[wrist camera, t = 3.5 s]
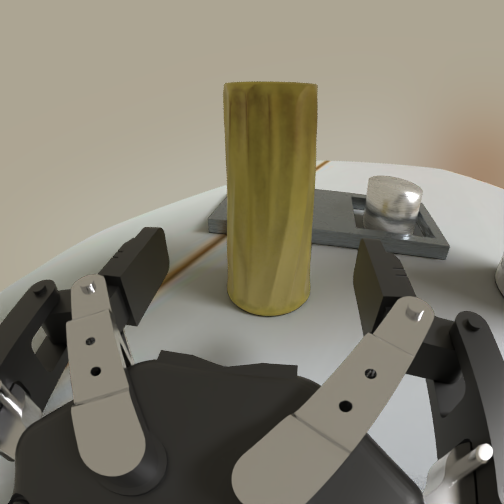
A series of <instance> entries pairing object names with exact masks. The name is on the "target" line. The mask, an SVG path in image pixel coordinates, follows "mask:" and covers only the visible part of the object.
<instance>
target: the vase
mask: <svg viewBox="0 0 504 504" xmlns="http://www.w3.org/2000/svg"><path fill="white" fill-rule="evenodd" d="M317 88H318V87H317V85H316V84H309V83H296V82H232V83H225V84H224V92H223V103H224V127H225V150H226V168H227V169H226V171H227V261H228V282H227V292H228V295H229V297H230V299H231V300H232V301H233V302H234V303H235V304H236V305H237V306H238V307H240V308H241V309H243V310H245V311H247V312H249V313H253V314H257V315H263V316H276V315H282V314H286V313H289V312H292V311H294V310H296V309H297V308H299V307H300V306H301V305H302V304H303V303H304V302H305V301H306V300H307V299H308V297H309V294H310V259H311V240H312V222H313V209H314V191H315V173H316V134H317Z"/></svg>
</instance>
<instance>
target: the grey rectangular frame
mask: <svg viewBox="0 0 504 504" xmlns="http://www.w3.org/2000/svg"><path fill="white" fill-rule="evenodd" d="M422 193H423V191H422V189H421V188H420V187H419V186H417V185H416V184H414V183H412V182H409V181H406V180H403V179H400V178H396V177H390V176H373V177H370V178H369V182H368V189H367V195H362V194H355V193H346V192H338V191H329V190H319V189H315V191H314V209H313V222H312V240H311V243H315V244H324V245H332V246H341V247H349V248H358V249H359V244H360V240H361V239H362V238H367V239H380V241H381V243H382V245H383V247H384V249H385V251H386V252H391V253H399V254H407V255H415V256H422V257H430V258H438V259H445V260H446V257H447V254H448V251H449V248H450V246H449V244H448V242H447V241H446V239H445V237H444V236H443V234H442V233H441V231H440V229H439V228H438V226H437V225H436V223H435V222H434V220H433V218H432V217H431V215H430V214H429V212H428V211H427V209H426V208H425V206H424V205H423V204H422V203H421V198H422ZM353 208H354V209H363V210H364V216H363V222H362V223H363V226H364V228H365V229H361V228H356V224H355V217H354V211H353ZM416 222H417V223H418V225H419V227H420V229H421V231H422V233H423V235H424V237H421V236H414V235H413V233H414V229H415V225H416ZM208 225H209V232H212V233H222V234H227V197H226V198H225V199H224V201H223V202H222V203H221V204H220V205H219V206H218V207H217V209H216V210H215V211H214V212H213V213H212V214H211V216H210V217H209V218H208Z"/></svg>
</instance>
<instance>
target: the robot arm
mask: <svg viewBox="0 0 504 504" xmlns="http://www.w3.org/2000/svg"><path fill="white" fill-rule="evenodd" d="M168 270H169V256H168V251H167V245H166V240H165V234H164V231H163V229H162V228H156V227H145V228H143V229H142V230H141V231H140V233H139V234H138V235H137V236H136V237H135V238H133V239H131V240H129V241H128V242H126V243H125V244H123V246H122V247H121V248H120V249H119V250H118V252H116V253H115V255H114V256H113V258H111V259H110V260H109V262H108V263H107V264H106V265H105V266H104V267H103V269H102V270H101V271H100V272H99V273H98V274H92V275H87V276H84V277H82V278H80V279H79V280H77V281H76V282H75V283H74V284H73V286H72V288H71V289H70V290H61V291H58V290H57V287H56V285H55V283H54V282H53V281H52V280H42V281H40V282H37V283H36V284H34V285H33V286H31V287H30V288H29V290H28V291H27V292H26V293H25V294H24V296H23V297H22V298H21V299H20V300H19V302H18V303H17V304H16V305H15V307H14V308H13V309H12V310H11V312H10V313H9V314H8V315H7V317H6V318H5V319H4V321H3V322H2V323H1V325H0V455H1V456H3V457H4V458H5V459H7V460H9V461H15V484H14V491H13V495H12V498H11V500H10V501H9V503H8V504H504V360H503V358H502V355H501V353H500V351H499V348H498V346H497V343H496V341H495V339H494V337H493V334H492V332H491V330H490V328H489V326H488V324H487V322H486V321H485V320H484V319H483V318H482V317H481V316H480V315H478V314H476V313H474V312H470V311H463V312H460V313H459V314H458V315H457V317H456V319H455V321H450V320H446V319H442V318H439V317H436V316H434V311H433V309H432V308H431V306H430V305H429V304H428V303H427V302H425V301H424V300H422V299H419V298H417V297H416V295H415V293H414V290H413V288H412V286H411V284H410V281H409V279H408V277H406V273H405V270H403V266H402V264H401V262H400V260H399V259H398V258H397V257H396V256H395V255H394V254H393V253H391V252H386V251H385V249H384V247H383V245H382V243H381V241H380V239H367V238H362V239H361V240H360V244H359V249H358V254H357V259H356V264H355V269H354V276H353V285H354V290H355V295H356V300H357V304H358V309H359V314H360V319H361V325H362V330H363V335H364V338H363V339H362V340H361V341H360V342H359V344H358V345H357V346H356V347H355V348H354V350H353V351H352V352H351V353H350V354H349V356H348V357H347V358H346V359H345V360H344V361H343V363H342V364H341V365H340V366H339V367H338V368H337V369H336V371H335V372H334V373H333V374H332V375H331V376H330V377H329V378H328V379H327V381H326V382H325V383H324V384H323V385H322V386H320V385H319V384H317V383H315V382H313V381H311V380H309V379H306V378H304V377H301V376H297V368H298V365H282V364H268V363H259V364H250V365H240V366H230V367H225V366H221V365H218V364H215V363H212V362H209V361H207V360H204V359H201V358H199V357H196V356H193V355H189V354H182V353H176V352H170V351H164V350H161V352H160V354H159V357H158V359H157V360H149V361H144V362H140V363H137V364H135V363H134V360H133V357H132V354H131V351H130V347H129V344H128V341H127V337H126V334H125V332H124V327H125V325H131V326H138V324H139V322H140V320H141V319H142V317H143V315H144V313H145V311H146V310H147V308H148V306H149V304H150V303H151V301H152V299H153V297H154V296H155V294H156V292H157V290H158V289H159V287H160V285H161V284H162V282H163V280H164V278H165V277H166V275H167V273H168ZM495 280H496V284H497V286H498V288H499V290H500V291H501V293H502V294H503V296H504V253H503V256H502V259H501V261H500V264H499V266H498V269H497V271H496V273H495ZM41 326H42V328H43V330H44V331H45V333H46V335H47V336H46V338H45V339H44V341H43V343H42V344H41V346H40V347H39V349H38V350H37V352H36V354H34V352H33V350H32V347H31V342H32V339H33V337H34V335H35V334H36V332H37V331H38V329H39V328H40V327H41ZM68 361H69V368H70V377H71V384H72V391H73V398H74V400H72V401H70V402H68V403H67V404H65V405H63V406H62V407H60V408H58V409H56V410H55V411H53V412H51V413H49V414H48V415H46V416H44V417H42V412H43V410H44V408H45V406H46V404H47V402H48V400H49V398H50V396H51V394H52V392H53V390H54V388H55V386H56V384H57V382H58V380H59V378H60V376H61V374H62V373H63V371H64V369H65V367H66V365H67V363H68ZM405 374H409V375H413V376H418V377H422V378H426V383H427V388H428V394H429V399H430V405H431V411H432V417H433V424H434V432H435V439H436V448H437V458H438V461H437V462H435V463H434V464H433V465H432V467H431V468H430V470H429V472H428V475H427V482H426V487H425V489H424V491H423V493H422V492H421V490H420V489H419V487H418V486H417V485H416V484H415V483H414V482H413V481H412V480H411V479H410V478H409V476H408V475H407V474H406V473H405V472H404V471H403V470H402V469H401V468H400V467H399V466H398V465H397V464H396V463H395V462H394V461H393V460H392V459H391V458H390V457H389V456H388V455H387V454H386V452H385V451H384V450H383V449H382V448H381V447H380V446H379V445H378V444H377V443H376V442H375V441H374V440H373V439H372V438H371V437H370V435H369V434H368V433H367V431H368V430H369V429H370V427H371V426H372V424H373V423H374V422H375V420H376V419H377V417H378V416H379V414H380V413H381V411H382V410H383V408H384V407H385V405H386V404H387V402H388V401H389V399H390V398H391V396H392V395H393V393H394V391H395V390H396V388H397V386H398V385H399V383H400V382H401V380H402V378H403V376H404V375H405ZM463 377H464V378H463Z"/></svg>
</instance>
